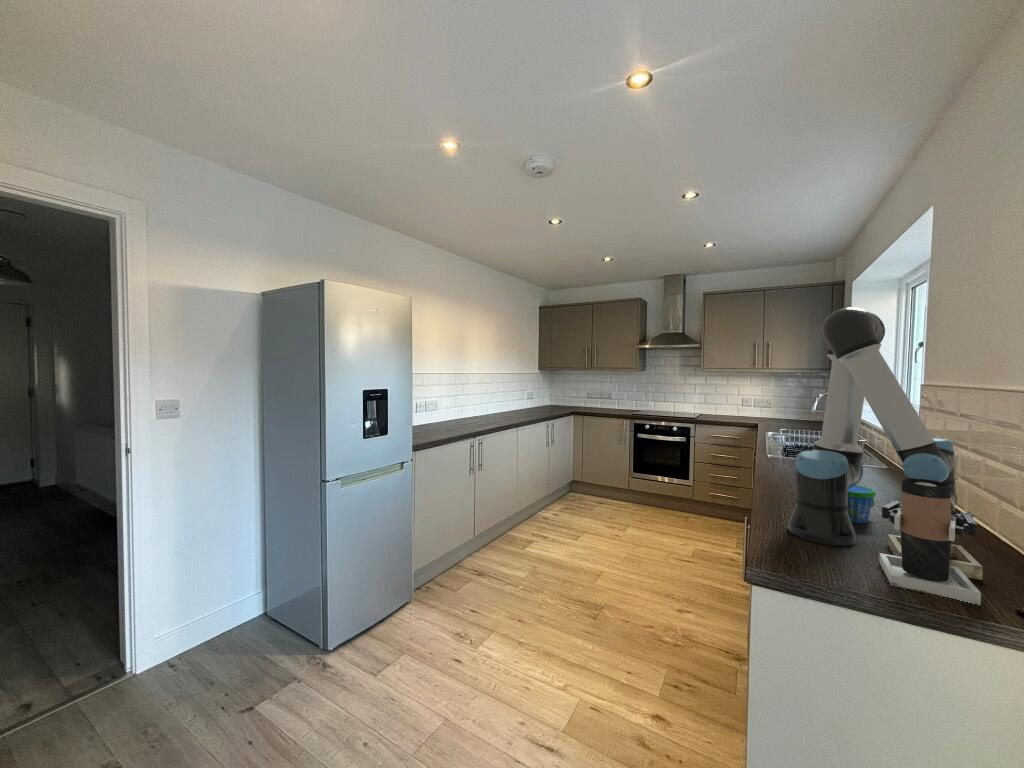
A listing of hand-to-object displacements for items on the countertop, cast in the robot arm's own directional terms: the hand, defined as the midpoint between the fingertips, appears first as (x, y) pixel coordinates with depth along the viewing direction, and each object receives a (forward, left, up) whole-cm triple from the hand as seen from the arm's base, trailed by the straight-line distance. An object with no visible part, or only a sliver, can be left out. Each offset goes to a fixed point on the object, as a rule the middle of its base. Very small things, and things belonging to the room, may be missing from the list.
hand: (923, 528), depth 84 cm
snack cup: (-7, +46, -13) cm, 48 cm away
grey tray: (+1, +5, -13) cm, 14 cm away
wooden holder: (+5, +20, -13) cm, 24 cm away
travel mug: (+1, +5, -11) cm, 12 cm away
